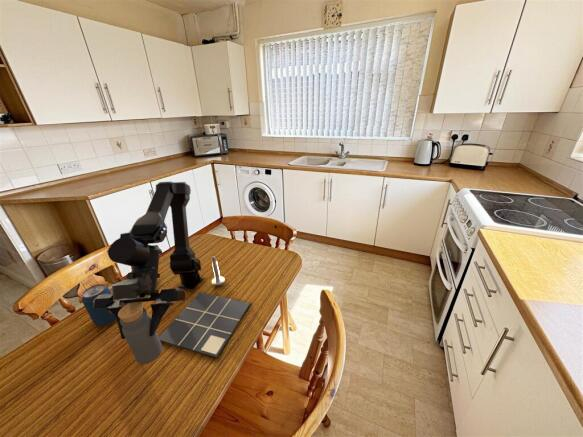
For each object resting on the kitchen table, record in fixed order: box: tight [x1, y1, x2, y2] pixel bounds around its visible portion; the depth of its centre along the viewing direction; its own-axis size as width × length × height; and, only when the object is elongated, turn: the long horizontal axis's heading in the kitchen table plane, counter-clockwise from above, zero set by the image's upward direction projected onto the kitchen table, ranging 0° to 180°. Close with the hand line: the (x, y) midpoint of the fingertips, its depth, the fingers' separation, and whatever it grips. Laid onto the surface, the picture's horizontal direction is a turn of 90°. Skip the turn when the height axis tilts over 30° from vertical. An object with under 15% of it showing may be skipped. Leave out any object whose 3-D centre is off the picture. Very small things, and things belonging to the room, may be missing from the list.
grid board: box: [158, 292, 251, 359], centre depth 75 cm, size 20×20×1 cm
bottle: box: [118, 302, 163, 366], centre depth 56 cm, size 6×6×15 cm
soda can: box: [81, 283, 117, 327], centre depth 74 cm, size 7×7×12 cm
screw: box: [211, 255, 226, 288], centre depth 88 cm, size 13×5×5 cm
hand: (137, 337), depth 55 cm, fingers closed on bottle, 6 cm apart
